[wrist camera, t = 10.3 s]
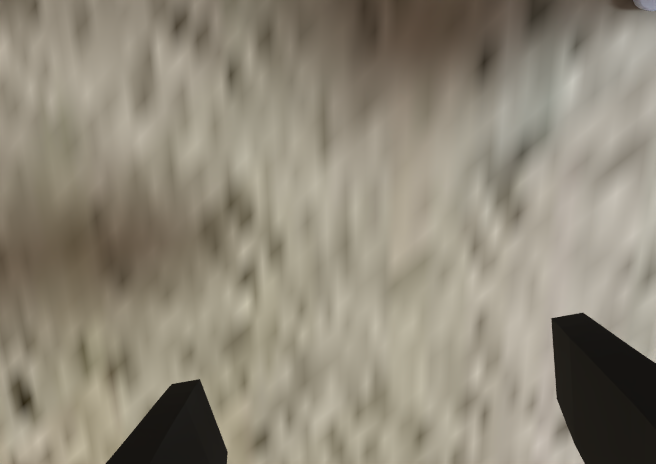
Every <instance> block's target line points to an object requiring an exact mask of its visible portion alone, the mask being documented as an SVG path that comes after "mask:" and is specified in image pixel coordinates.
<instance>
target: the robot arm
mask: <svg viewBox="0 0 656 464" xmlns="http://www.w3.org/2000/svg"><path fill="white" fill-rule="evenodd" d="M633 1H634V3H635V5H636V6H637V7H638V8H640V9H643V10H648V11H656V0H633ZM551 319H552V334H553V348H554V363H555V378H556V393H557V400H558V403H559V405H560V408H561V411H562V413H563V416H564V418H565V421H566V424H567V426H568V429H569V431H570V434H571V436H572V439H573V441H574V443H575V446H576V448H577V449H578V451H579V453H580V455H581V457H582V459H583V461H584V463H585V464H656V363H654V362H653V361H651V360H650V359H648V358H647V357H645V356H644V355H642V354H641V353H639V352H638V351H637V350H635V349H634V348H632V347H631V346H629V345H628V344H627V343H625V342H624V341H622V340H621V339H619V338H618V337H617V336H615V335H614V334H612V333H611V332H610V331H608V330H607V329H605V328H604V327H603V326H601V325H600V324H598V323H597V322H596V321H594V320H593V319H591V318H590V317H588V316H587V315H586V314H584V313H579V314H573V315H567V316H562V317H556V318H551ZM106 464H227V449H226V447H225V444H224V441H223V439H222V436H221V434H220V431H219V428H218V426H217V423H216V420H215V418H214V415H213V413H212V410H211V407H210V405H209V402H208V399H207V397H206V394H205V392H204V389H203V386H202V384H201V381H200V379H199V380H193V381H187V382H181V383H176V384H172V385H171V386H170V387H169V388H168V389H167V390H166V391H165V393H164V394H163V395H162V396H161V397H160V399H159V400H158V401H157V402H156V403H155V405H154V406H153V407H152V408H151V410H150V411H149V412H148V413H147V415H146V416H145V417H144V418H143V419H142V421H141V422H140V423H139V424H138V426H137V427H136V428H135V429H134V431H133V432H132V433H131V434H130V435H129V437H128V438H127V439H126V440H125V441H124V443H123V444H122V445H121V446H120V447H119V449H118V450H117V451H116V452H115V453H114V455H113V456H112V457H111V458H110V459H109V460H108V461H107V463H106Z"/></svg>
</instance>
